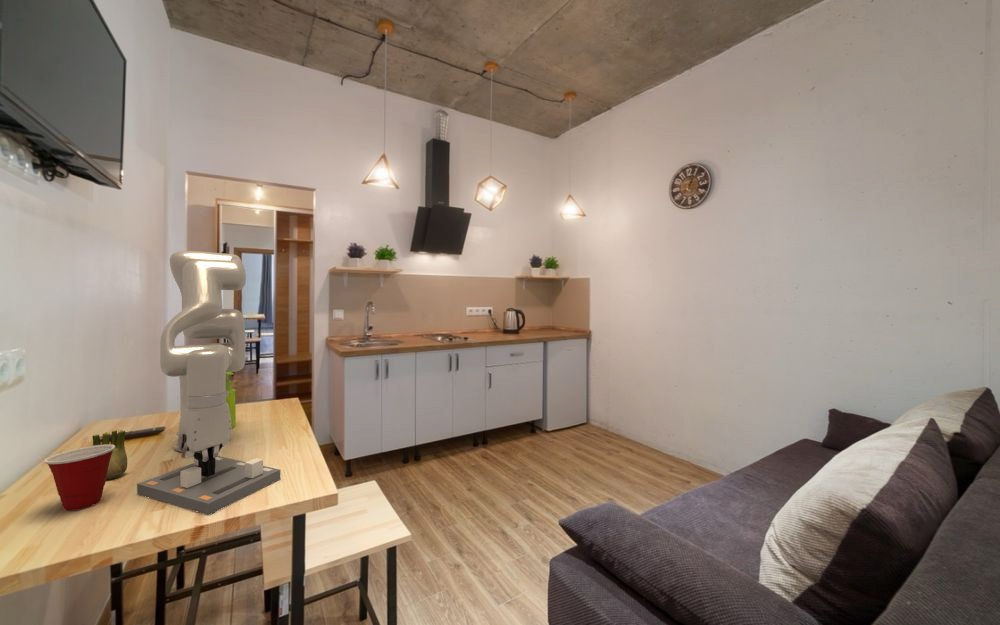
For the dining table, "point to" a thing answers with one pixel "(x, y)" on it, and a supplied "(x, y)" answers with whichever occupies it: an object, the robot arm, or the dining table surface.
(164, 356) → the robot arm
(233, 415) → the soap dispenser
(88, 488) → the plastic cup
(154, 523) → the dining table surface
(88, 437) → the dining table surface
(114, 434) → the fennel bulb
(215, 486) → the switch panel
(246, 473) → the right switch
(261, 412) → the dining table surface
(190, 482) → the switch
